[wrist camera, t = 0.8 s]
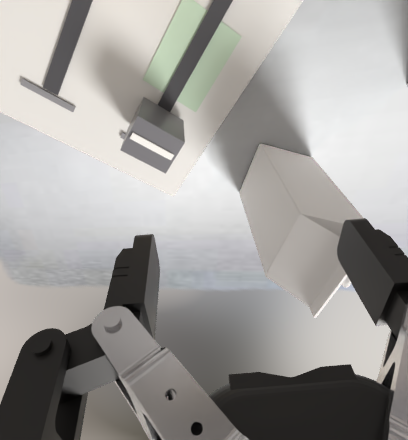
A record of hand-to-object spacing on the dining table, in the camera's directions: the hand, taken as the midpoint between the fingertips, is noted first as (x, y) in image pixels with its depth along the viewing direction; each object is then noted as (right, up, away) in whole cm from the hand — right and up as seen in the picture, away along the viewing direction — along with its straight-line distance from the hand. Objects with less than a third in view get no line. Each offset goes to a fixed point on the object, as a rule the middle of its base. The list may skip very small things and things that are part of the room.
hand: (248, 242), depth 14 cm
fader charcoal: (-7, +11, +19) cm, 23 cm away
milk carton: (+7, +7, +27) cm, 28 cm away
